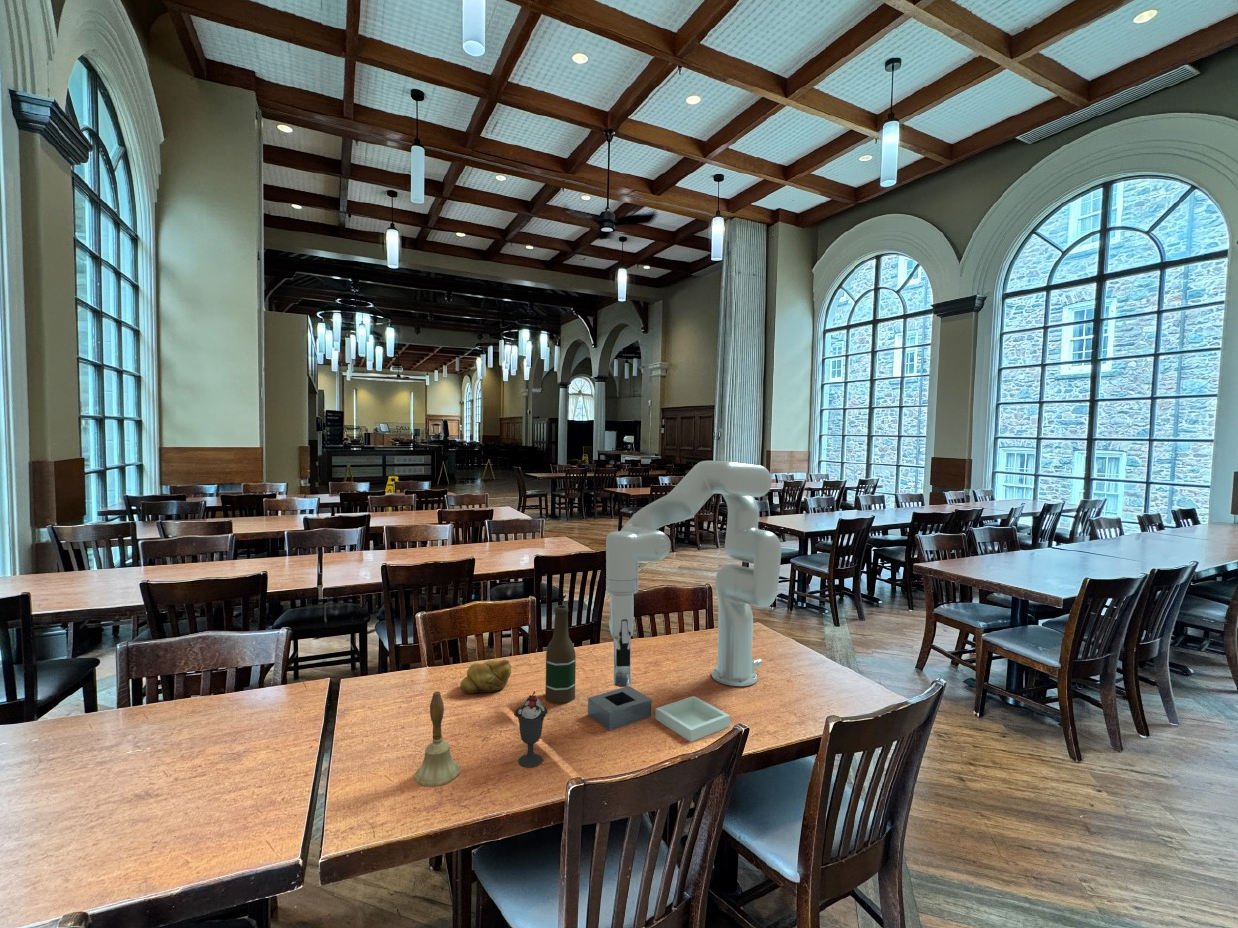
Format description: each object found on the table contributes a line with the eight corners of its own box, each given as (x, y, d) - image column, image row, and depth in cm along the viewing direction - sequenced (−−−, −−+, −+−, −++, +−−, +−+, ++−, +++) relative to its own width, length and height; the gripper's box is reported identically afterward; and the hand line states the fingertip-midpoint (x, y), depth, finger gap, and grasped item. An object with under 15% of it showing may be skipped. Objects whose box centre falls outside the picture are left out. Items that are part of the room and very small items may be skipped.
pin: (613, 679, 132) (613, 630, 131) (629, 679, 132) (629, 629, 132) (614, 687, 128) (614, 636, 127) (631, 686, 128) (631, 635, 128)
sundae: (532, 773, 108) (533, 697, 107) (507, 763, 111) (507, 689, 111) (553, 758, 113) (554, 685, 113) (529, 748, 117) (529, 678, 116)
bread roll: (462, 699, 139) (462, 668, 139) (457, 684, 148) (457, 655, 148) (513, 691, 144) (513, 661, 144) (505, 677, 153) (505, 648, 153)
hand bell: (422, 791, 101) (422, 706, 101) (409, 770, 108) (410, 689, 108) (465, 776, 106) (466, 694, 106) (451, 757, 113) (451, 680, 113)
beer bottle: (570, 709, 134) (571, 612, 134) (540, 706, 136) (541, 609, 135) (579, 696, 142) (580, 603, 141) (550, 692, 143) (551, 601, 143)
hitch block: (628, 705, 137) (629, 685, 137) (651, 720, 130) (651, 699, 130) (587, 718, 130) (588, 697, 130) (609, 735, 123) (609, 712, 123)
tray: (693, 709, 135) (693, 695, 135) (729, 730, 126) (730, 715, 126) (655, 723, 128) (655, 708, 128) (690, 746, 119) (691, 730, 119)
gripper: (603, 576, 137) (604, 649, 138) (608, 594, 121) (609, 677, 121) (633, 575, 138) (633, 648, 139) (642, 594, 121) (642, 676, 122)
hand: (622, 660), depth 130 cm, fingers closed on pin, 4 cm apart
